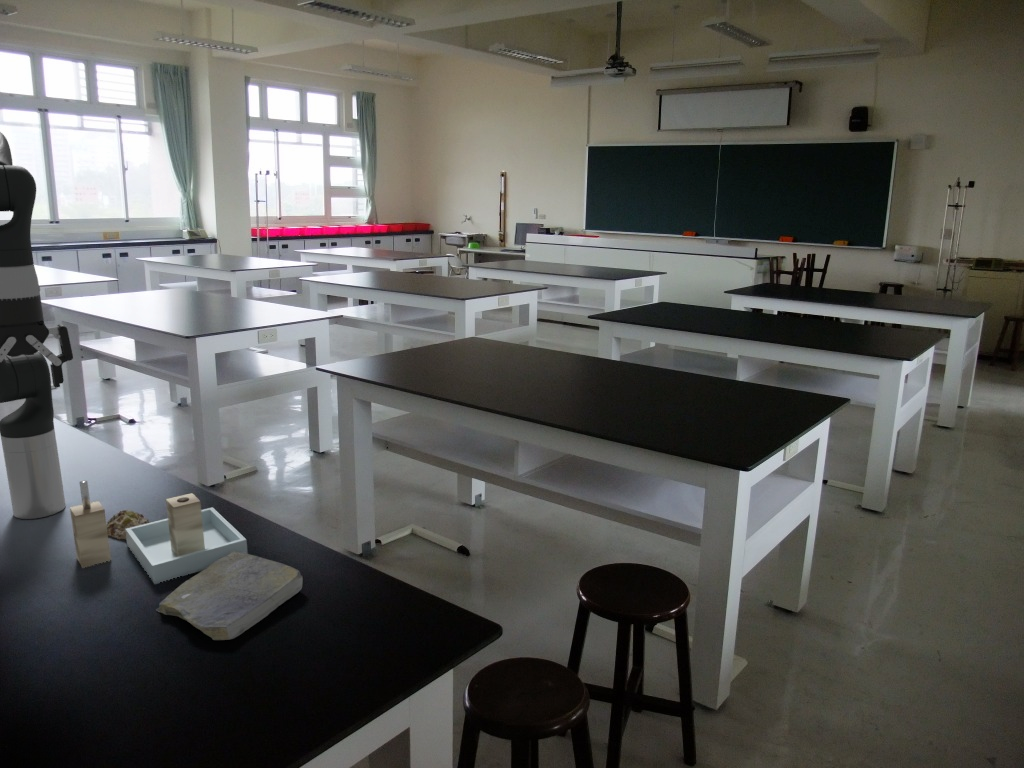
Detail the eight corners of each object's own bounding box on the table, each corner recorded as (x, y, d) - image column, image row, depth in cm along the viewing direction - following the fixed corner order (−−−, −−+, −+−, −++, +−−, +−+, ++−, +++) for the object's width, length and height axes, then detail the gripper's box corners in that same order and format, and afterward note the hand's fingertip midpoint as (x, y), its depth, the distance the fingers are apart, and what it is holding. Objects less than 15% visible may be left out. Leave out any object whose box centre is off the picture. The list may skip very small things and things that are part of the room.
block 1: (77, 558, 136) (66, 480, 133) (105, 551, 139) (95, 475, 135) (82, 568, 133) (71, 489, 129) (111, 560, 136) (100, 482, 132)
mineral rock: (95, 516, 149) (136, 497, 153) (104, 534, 151) (145, 514, 154) (105, 538, 140) (149, 517, 144) (115, 556, 142) (158, 535, 146)
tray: (127, 545, 141) (125, 528, 140) (214, 523, 151) (212, 507, 150) (154, 584, 128) (152, 565, 127) (247, 557, 138) (246, 539, 137)
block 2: (171, 549, 139) (165, 498, 136) (197, 542, 142) (192, 492, 139) (178, 559, 135) (173, 506, 133) (205, 551, 138) (200, 500, 136)
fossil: (140, 626, 118) (221, 649, 111) (136, 599, 117) (218, 620, 110) (236, 574, 136) (312, 590, 128) (233, 550, 135) (309, 565, 127)
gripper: (58, 288, 129) (71, 379, 133) (-44, 294, 120) (-27, 392, 124) (67, 293, 123) (80, 388, 127) (-40, 300, 114) (-22, 402, 118)
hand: (27, 390), depth 126 cm, fingers open, 8 cm apart
